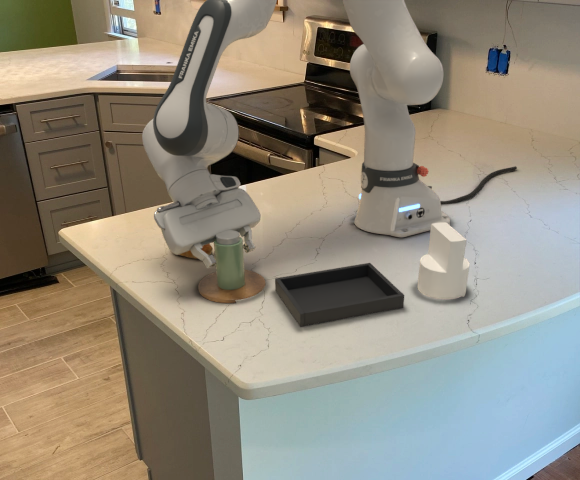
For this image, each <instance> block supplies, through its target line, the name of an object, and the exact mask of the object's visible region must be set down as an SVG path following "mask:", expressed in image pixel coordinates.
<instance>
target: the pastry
mask: <svg viewBox="0 0 580 480" xmlns="http://www.w3.org/2000/svg"><path fill="white" fill-rule="evenodd" d="M202 247H203V248H202V249H201V250H202V251H204V252H205V253H206V254H208V255H212V253H213V250H214V247H213V246H212V245H211V243H209V244H206V245H204V246H202ZM179 256H182V257H186V258H188V259H198V258H197V257H195V256H194V255H193V254H192V252H191V251H187V252H184V253H181V254H179Z"/></svg>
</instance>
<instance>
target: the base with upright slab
mask: <svg viewBox="0 0 580 480" xmlns="http://www.w3.org/2000/svg"><path fill="white" fill-rule="evenodd" d="M429 232H430V233H429V242H428V251H427V254H424V255H422V256H421V257H420V259H419V267H418V277H417V290H418V292H420V293H421V295H424V296H425V297H429V298H431V299H436V300H444V301H445V300H456V299H458V298H461V297H463V298H464V297H465V296H466V293H467V287H468V278H469V272H470V264H471V263H470V261H469V260H468V259H467V258H466V257H465V253H466V247H467V238H465V237H464V236H463V235H462V234H461V233H460V232H458V231H457V230H456V229H455V228H454V227H452V226H451V224H450V225H449V224H448V223H446V222H441V223H433V224H431V230H429Z"/></svg>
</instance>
